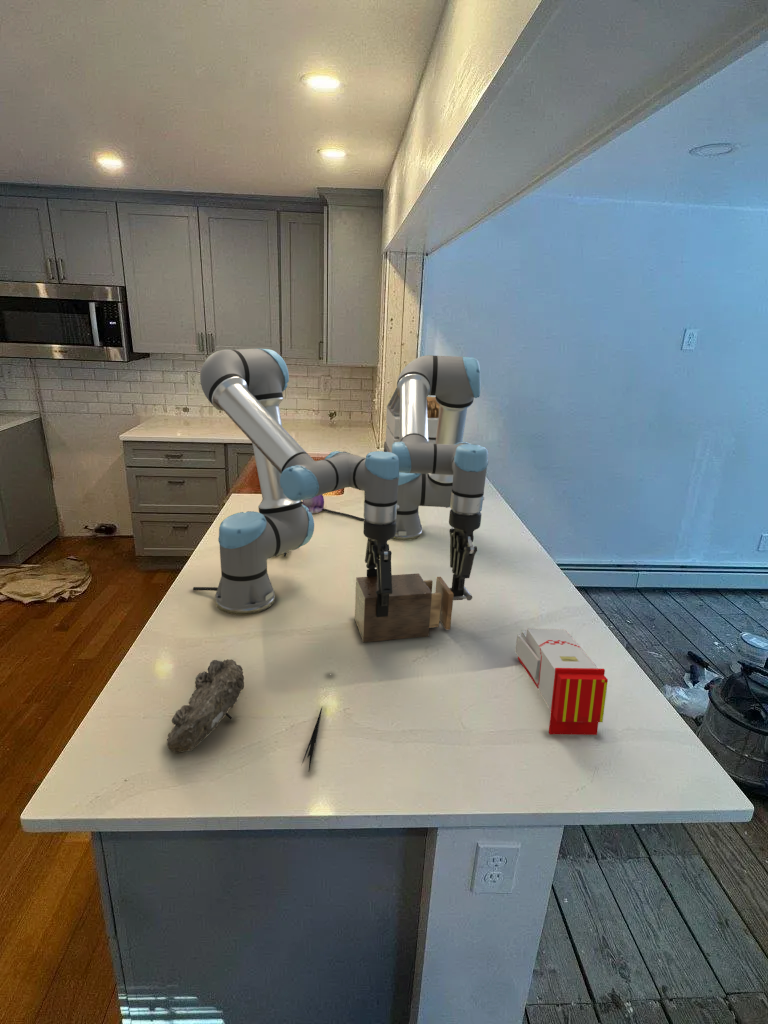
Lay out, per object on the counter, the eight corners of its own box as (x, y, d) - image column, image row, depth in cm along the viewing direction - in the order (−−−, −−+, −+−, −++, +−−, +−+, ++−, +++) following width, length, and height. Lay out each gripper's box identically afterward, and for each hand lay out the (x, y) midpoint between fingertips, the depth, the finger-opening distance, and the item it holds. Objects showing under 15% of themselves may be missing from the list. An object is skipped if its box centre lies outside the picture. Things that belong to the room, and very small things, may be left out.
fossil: (192, 660, 117) (244, 628, 112) (224, 691, 120) (276, 661, 115) (142, 746, 98) (202, 712, 93) (182, 779, 101) (242, 748, 96)
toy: (561, 612, 132) (617, 675, 103) (556, 665, 135) (608, 741, 106) (510, 611, 132) (551, 674, 102) (505, 664, 134) (544, 741, 105)
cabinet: (415, 614, 148) (418, 573, 144) (428, 636, 138) (432, 593, 134) (354, 619, 144) (356, 577, 140) (363, 642, 134) (364, 598, 130)
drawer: (459, 608, 150) (462, 574, 146) (472, 627, 141) (476, 592, 138) (382, 614, 145) (384, 580, 141) (391, 634, 136) (393, 598, 133)
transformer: (382, 463, 289) (386, 382, 275) (445, 464, 293) (451, 384, 279) (390, 482, 257) (394, 392, 243) (460, 483, 261) (468, 394, 247)
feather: (331, 679, 122) (336, 673, 122) (307, 777, 96) (313, 769, 95) (324, 675, 122) (329, 669, 121) (298, 772, 95) (304, 764, 95)
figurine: (305, 516, 212) (305, 477, 207) (296, 507, 221) (296, 470, 216) (329, 512, 216) (329, 475, 211) (319, 504, 225) (319, 468, 220)
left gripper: (409, 537, 121) (404, 627, 128) (384, 502, 142) (380, 581, 149) (375, 539, 119) (371, 630, 126) (354, 503, 140) (352, 583, 147)
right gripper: (491, 519, 130) (480, 610, 137) (470, 501, 141) (461, 585, 149) (460, 520, 128) (451, 612, 136) (442, 502, 140) (434, 587, 148)
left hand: (376, 604), depth 138 cm, fingers closed on cabinet, 11 cm apart
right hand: (456, 598), depth 143 cm, fingers closed
